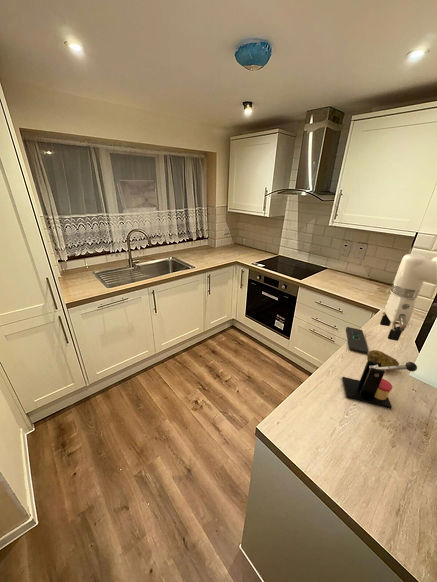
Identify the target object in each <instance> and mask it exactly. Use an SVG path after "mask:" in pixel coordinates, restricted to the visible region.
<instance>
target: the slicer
mask: <svg viewBox="0 0 437 582" xmlns="http://www.w3.org/2000/svg"><path fill="white" fill-rule="evenodd" d="M369 365H378V367H381V365H382V364H381V363H379V362H374V361H369V360H367V361H366V363H365V366H364V368H363V372H362V374H361V376H360V379H354V378H351V377H346V376H342V377H341V380H342V386H343V390H344V396H345V398H346V399H349V400H353V401H358V402H361V403H365V404H369V405H373V406H377V407H381V408H385V409H389V410H392V409H393V406H392V403H391V401H390V398H389V396H388V397H387V399H386V400H380V399H378V398H376V397H374V396H375V393H376V391H377V389H378V387H379V384H380V382H381V380H382V379H384V375H385V373H386V371H384V370H380V369H375V368H369Z"/></svg>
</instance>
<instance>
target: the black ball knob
mask: <svg viewBox="0 0 437 582" xmlns="http://www.w3.org/2000/svg"><path fill="white" fill-rule="evenodd" d="M369 368H375V369H380V370H384V371H385V372H387V371H390V370H394V371H401V370H403V371H404V370H407V371H408V372H412V373H413V372H415V371H417V370H418V365H417V363H414V362H412V361H408V362H406V363H405V364H401V365H400V364H399V366H388V367H378V365H369ZM390 372H391V371H390Z"/></svg>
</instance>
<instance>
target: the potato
mask: <svg viewBox="0 0 437 582" xmlns="http://www.w3.org/2000/svg"><path fill="white" fill-rule="evenodd" d="M366 360H367V361H368V360H369V361H374V362H379V363H381V364H382V365H381V367H388V366H400V363H399V361H398V360H397V359H395V358H394V357H392V356H390V355H388V354H386V353H384V352H383V351H380V350H377V349H373V350H370V351H368V354H367V358H366ZM394 371H395V370H390V371H386V372H387V373H388V372H394Z"/></svg>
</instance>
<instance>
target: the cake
mask: <svg viewBox="0 0 437 582" xmlns="http://www.w3.org/2000/svg"><path fill="white" fill-rule="evenodd" d="M392 390H393V384H392V383H391V382H390V381H388V380H387V379H385V378H382V380H381V382H380V384H379V387H378V389H377V391H376V393H375V396H374V397H376V398H378V399H380V400H386V399H387V397H388V398H389V395H390V393H391V391H392Z"/></svg>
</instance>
